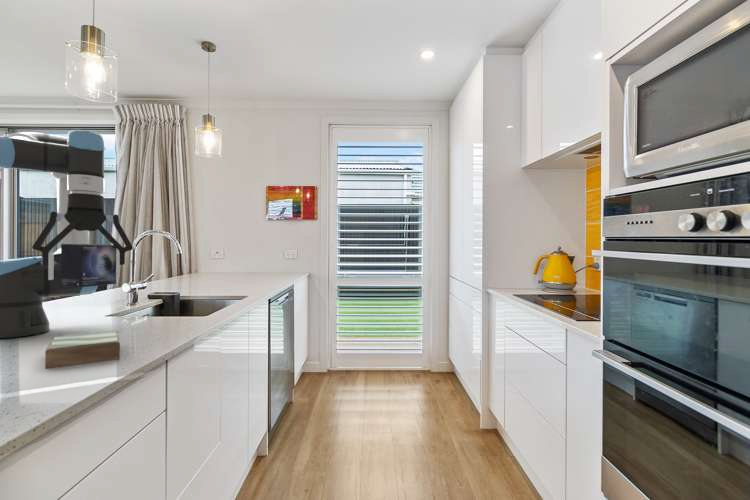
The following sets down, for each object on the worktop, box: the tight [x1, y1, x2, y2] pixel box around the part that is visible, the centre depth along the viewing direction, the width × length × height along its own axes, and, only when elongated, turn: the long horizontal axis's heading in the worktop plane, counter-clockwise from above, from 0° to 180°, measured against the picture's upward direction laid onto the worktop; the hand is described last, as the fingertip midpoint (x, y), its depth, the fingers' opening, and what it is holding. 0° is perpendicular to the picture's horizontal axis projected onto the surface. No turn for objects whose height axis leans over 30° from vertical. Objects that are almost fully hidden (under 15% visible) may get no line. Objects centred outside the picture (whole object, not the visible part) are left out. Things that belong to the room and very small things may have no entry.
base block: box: [44, 330, 121, 369], centre depth 99 cm, size 16×14×4 cm
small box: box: [60, 243, 118, 287], centre depth 99 cm, size 11×6×10 cm, turn 169°
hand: (85, 278), depth 99 cm, fingers open, 13 cm apart
